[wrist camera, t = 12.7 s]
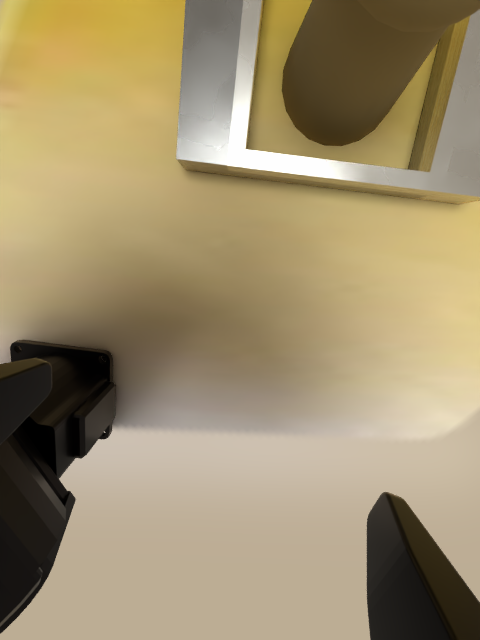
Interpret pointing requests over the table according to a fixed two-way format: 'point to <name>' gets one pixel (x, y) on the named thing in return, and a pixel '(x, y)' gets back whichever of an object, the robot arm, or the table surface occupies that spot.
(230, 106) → the silver metal frame
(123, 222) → the table surface
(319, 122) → the cork
